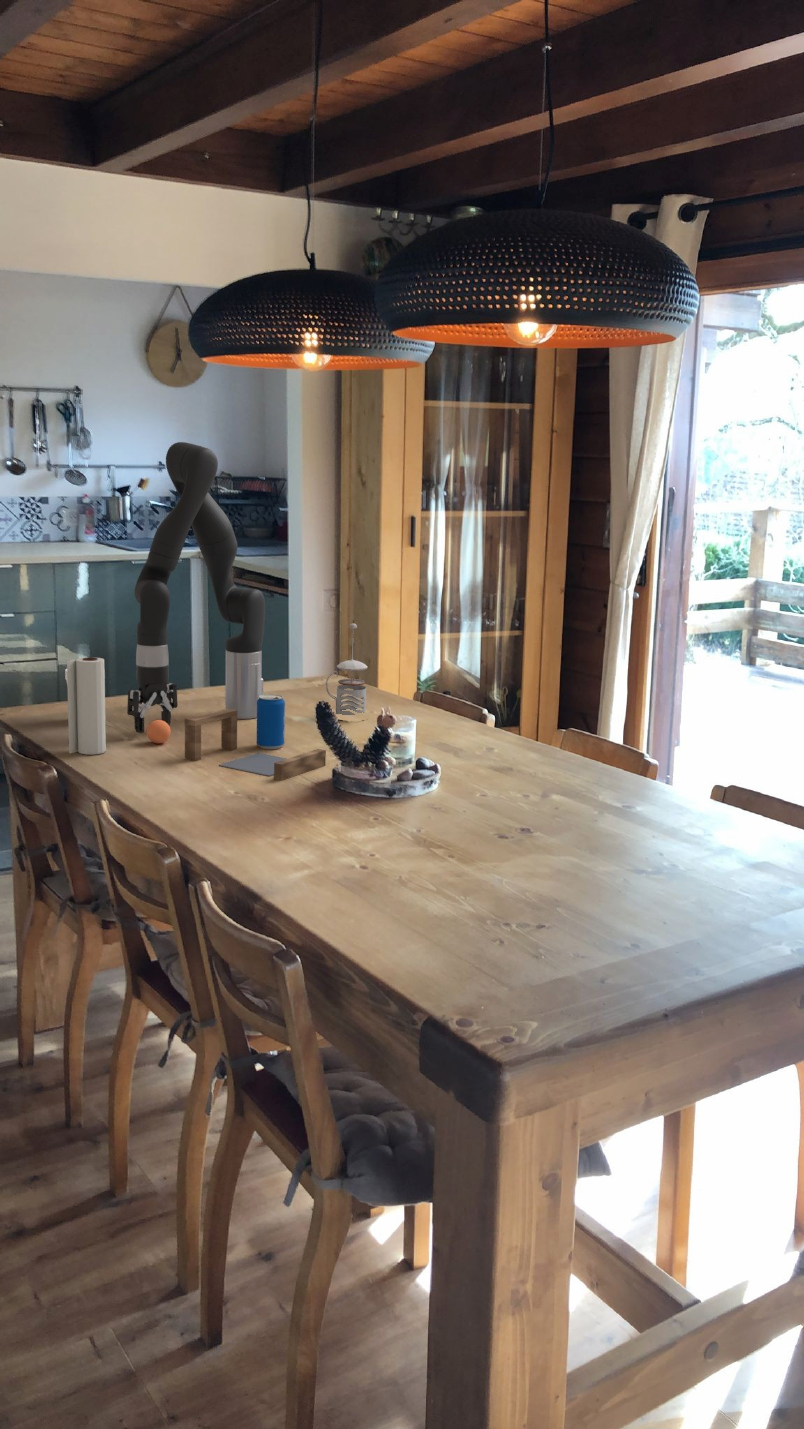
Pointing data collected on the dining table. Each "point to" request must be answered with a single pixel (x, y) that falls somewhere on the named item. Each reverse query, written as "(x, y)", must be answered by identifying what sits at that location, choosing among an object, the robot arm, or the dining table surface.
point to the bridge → (194, 723)
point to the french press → (352, 684)
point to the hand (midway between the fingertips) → (153, 729)
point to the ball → (158, 731)
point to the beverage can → (270, 721)
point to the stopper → (299, 764)
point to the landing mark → (255, 764)
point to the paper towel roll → (86, 705)
